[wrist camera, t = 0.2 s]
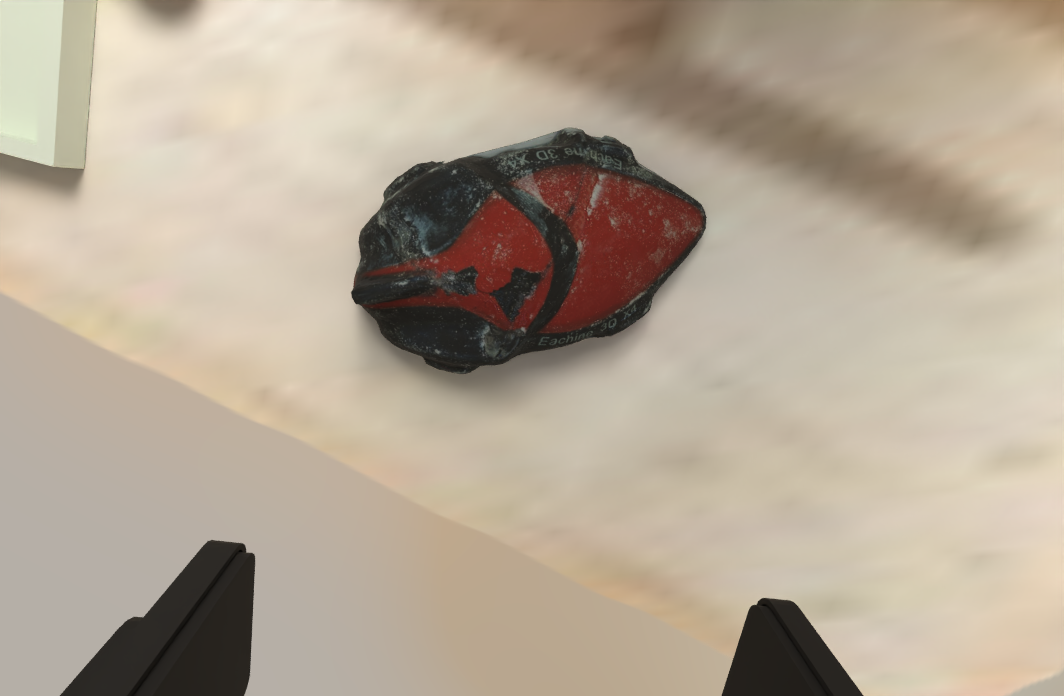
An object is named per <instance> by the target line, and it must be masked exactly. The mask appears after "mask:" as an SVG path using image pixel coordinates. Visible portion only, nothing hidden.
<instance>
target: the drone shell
mask: <svg viewBox="0 0 1064 696" xmlns="http://www.w3.org/2000/svg"><path fill="white" fill-rule="evenodd" d="M443 162H444V161H443ZM443 162H438V163H436V162H433V161H431V162H428V163H421V164H417V165H415V166H414V167H412V168H411V169H409V170H408V171H407V172H405V173H404V174H403V175H401V176H399V177H397V178H396V179H395V180H394V181H393V182H392V183H391V184H390V185H389V186H388V187H387V189H386V190H385V191H384V194H383V195H384V202H383V204H382V206H381V208H380V210H379V211H378V212H377V213H376V214H375V215H374V216H373V217H372V218H371V219H370V220H369V222H368V223H367V224H366V225H365V226H364V228H363V229H362V230H361V232H360V236H359V247H360V252H361V260H360V263H359V266H358V268H357V271H356V275H355V278H354V286H353V287H354V288H353V290H352V292H351V294H352V298H353V300H354V302H355V303H356V304H358V305H361V306H362V307H363V308H364V309H365V310H366V311H367V312H368V313H369V314H370V315H371V316H372V317H373V318H374V319H375V320H376V321H377V323H378V325H379V328H380V331H381V333H382V334H383V336H384V337H385V338H386V339H387V340H388V341H390V342H391V343H392V344H393V345H395V346H397V347H399V348H401V349H403V350H406V351H408V352H411V353H414V354H417V355H420V356H422V357H423V358H424V360H425V362H426V363H427V364H428V365H430V366H433V367H435V368H437V369H439V370H445V371H448V372H452V373H457V374H466V373H469V372H471V371H473V370H475V369H476V368H478V367H479V366H484V365H499V364H503V363H505V362H507V361H509V360H510V359H512V358H514V357H516V356H518V355H521V354H525V353H529V352H534V351H542V350H548V349H553V348H557V347H562V346H566V345H569V344H573V343H575V342H578V341H581V340H583V339H586V338H591V337H597V338H599V337H605V336H612V335H614V334H616V333H618V332H620V331H622V330H624V329H626V328H627V327H629V326H630V325H632V324H633V323H635V322H636V321H637V320H639V319H640V318H642V317H643V316H644V315H645V314H646V313H647V312H648V311H649V310H650V307H651V303H652V298H653V296H654V294H655V293H656V291H657V290H658V289H659V288H660V287H661V285H662V284H663V283H664V282H665V281H666V280H667V278H668V277H669V276H670V275H671V274H672V273H673V272H674V271H675V270H676V268H677V267H678V266H679V265H680V264H681V263H682V262H683V261H684V259H685V258H686V257H687V256H688V255H689V253H690V252H691V251H692V249H693V248H694V247H695V245H696V244H697V243H698V241H699V240H700V238H701V237H702V235H703V233H704V230H705V228H706V218H707V217H706V215H705V211H704V209H703V207H702V205H701V204H700V203H699V202H698V201H696V200H695V199H694V198H692V197H691V196H689V195H688V194H686V193H685V192H683V191H682V190H681V189H679V188H678V187H676V186H675V185H673V184H671V183H670V182H668V181H666V180H665V179H663V178H662V177H660V176H659V175H657V174H655V173H654V172H652V171H651V170H649V169H647V168H646V167H644V166H642V165H641V164H639V163H638V161H637V160H636V159H635V157H634V155H633V152H632V150H631V149H630V148H629V147H628V146H626V145H624V144H622V143H621V142H620V141H618V140H617V139H615V138H613V137H609V136H604V137H602V138H599V137H591V136H589V135H587V134H585V132H584V131H583V130H580V129H576V128H565V129H562V130H560V131H557V132H553V133H550V134H547V135H544V136H541V137H538V138H535V139H532V140H528V141H525V142H522V143H518V144H514V145H510V146H506V147H502V148H498V149H494V150H490V151H486V152H482V153H478V154H474V155H470V156H467V157H463V158H459V159H456V160H454V161H451V162H448V163H446V164H443Z"/></svg>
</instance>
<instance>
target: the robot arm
mask: <svg viewBox="0 0 1064 696" xmlns="http://www.w3.org/2000/svg"><path fill="white" fill-rule="evenodd" d="M254 572H255V556H254V554H253V553H246V547H245V545H244V544H242V543H233V542H224V541H214V540H211V541H208V542H207V543H206V544H205V545H204V546H203V547H202V548H201V549H200V551H199V552H198V553H197V554H196V555H195V557H194V558H193V559H192V560H191V561H190V563H189V564H188V565H187V566H186V567H185V569H184V570H183V571H182V572H181V573H180V574H179V576H178V577H177V578H176V579H175V580H174V582H173V583H172V584H171V585H170V586H169V588H168V589H167V590H166V591H165V593H164V594H163V595H162V596H161V597H160V598H159V600H158V601H157V602H156V603H155V604H154V606H153V607H152V608H151V609H150V610H149V611H148V613H147V614H146V615H145V616H144V617H143V618H142V617H133V618H131V619H129V620H127V621H126V622H125V623H124V624H123V625H122V626H121V627H120V628H119V629H118V630H117V631H116V632H115V633H114V634H113V636H112V637H111V638H110V639H109V640H108V641H107V642H106V643H105V645H104V646H103V647H102V648H101V649H100V650H99V651H98V653H97V654H96V655H95V656H94V657H93V658H92V659H91V661H90V662H89V663H88V664H87V665H86V666H85V667H84V669H83V670H82V671H81V672H80V673H79V674H78V676H77V677H76V678H75V679H74V680H73V681H72V683H71V684H70V685H69V686H68V687H67V688H66V689H65V691H64V692H63V693H62V694H61V695H60V696H244V694H245V691H246V689H247V685H248V681H249V676H250V661H251V639H252V616H253V596H254V574H255V573H254ZM722 696H863V695H862V693H861V692H860V690H859V689H858V688H857V686H856V685H855V684H854V682H853V681H852V679H851V678H850V677H849V675H848V674H847V673H846V671H845V670H844V669H843V667H842V666H841V664H840V663H839V662H838V660H837V659H836V658H835V656H834V655H833V654H832V652H831V651H830V649H829V648H828V647H827V645H826V644H825V643H824V641H823V640H822V639H821V637H820V636H819V634H818V633H817V632H816V630H815V629H814V628H813V626H812V625H811V623H810V622H809V621H808V619H807V618H806V617H805V615H804V614H803V613H802V611H801V610H800V608H799V607H798V606H797V605H796V604H795V603H794V602H792V601H789V600H779V599H770V598H762V599H760V600H759V601H758V603H757V605H752V606H751V607H750V609H749V611H748V614H747V618H746V621H745V624H744V627H743V630H742V633H741V636H740V640H739V643H738V646H737V649H736V652H735V655H734V658H733V662H732V665H731V668H730V671H729V674H728V678H727V681H726V684H725V687H724V690H723V693H722Z"/></svg>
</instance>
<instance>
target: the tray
mask: <svg viewBox="0 0 1064 696" xmlns="http://www.w3.org/2000/svg"><path fill="white" fill-rule="evenodd" d="M96 5H97V0H0V153H3V154H7V155H11V156H15V157H18V158H22V159H26V160H30V161H33V162H37V163H41V164H45V165H49V166H52V167H64V168H78V169H84V166H85V152H86V139H87V125H88V112H89V99H90V85H91V72H92V58H93V45H94V31H95V18H96Z"/></svg>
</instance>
